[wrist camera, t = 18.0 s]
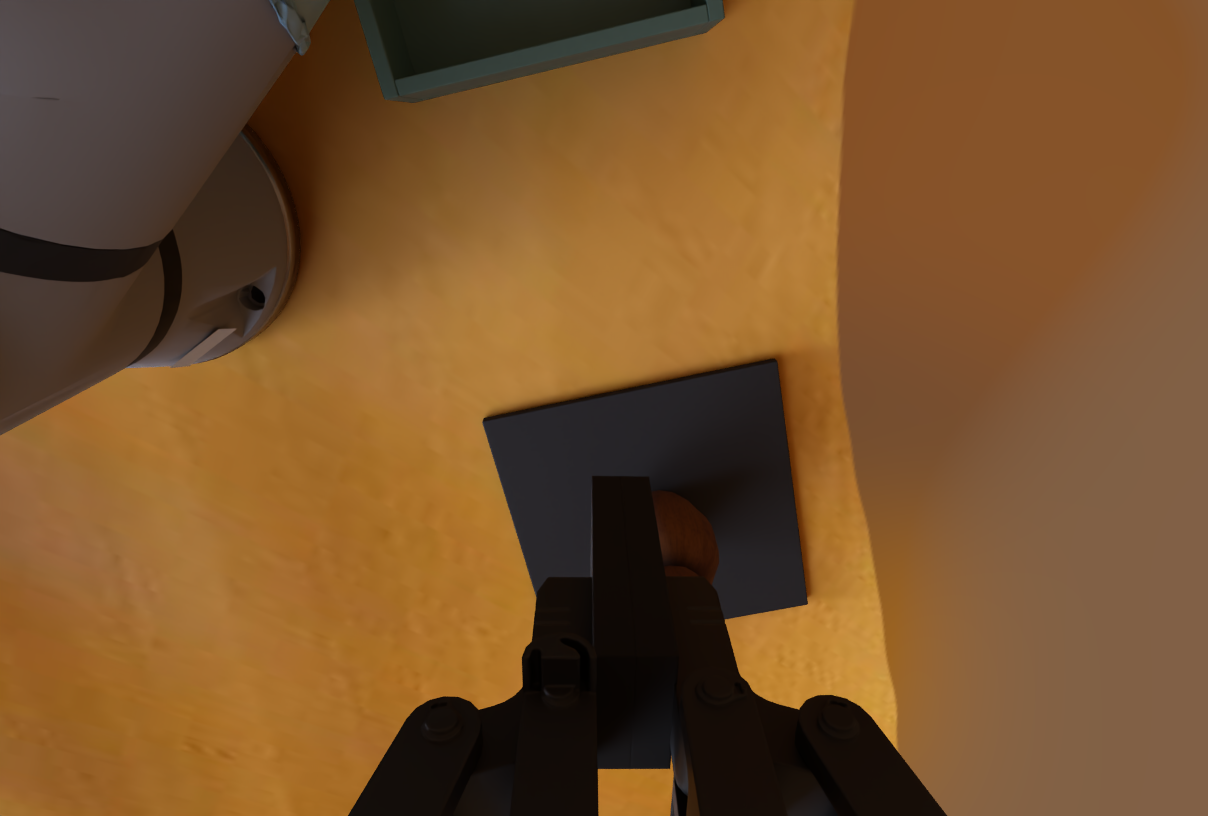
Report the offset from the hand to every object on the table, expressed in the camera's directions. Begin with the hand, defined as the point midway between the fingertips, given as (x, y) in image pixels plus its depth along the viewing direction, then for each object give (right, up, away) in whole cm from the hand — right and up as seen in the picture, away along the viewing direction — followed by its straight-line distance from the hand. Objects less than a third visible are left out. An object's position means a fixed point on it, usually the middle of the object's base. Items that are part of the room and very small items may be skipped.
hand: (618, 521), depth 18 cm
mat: (+3, -4, +27) cm, 27 cm away
